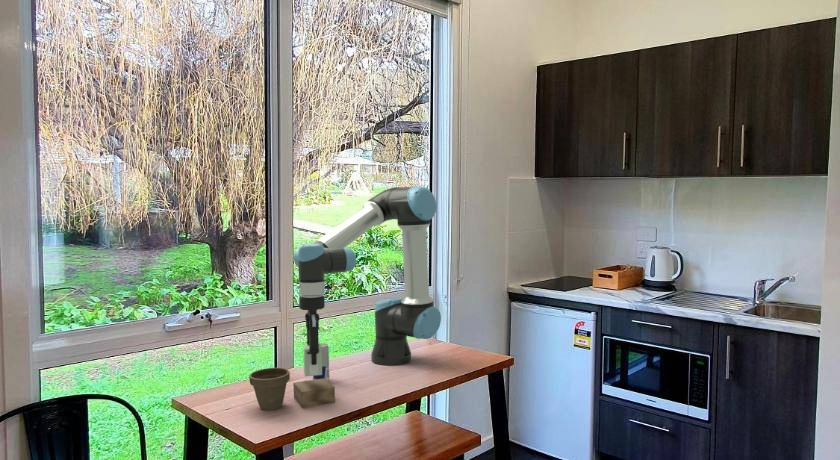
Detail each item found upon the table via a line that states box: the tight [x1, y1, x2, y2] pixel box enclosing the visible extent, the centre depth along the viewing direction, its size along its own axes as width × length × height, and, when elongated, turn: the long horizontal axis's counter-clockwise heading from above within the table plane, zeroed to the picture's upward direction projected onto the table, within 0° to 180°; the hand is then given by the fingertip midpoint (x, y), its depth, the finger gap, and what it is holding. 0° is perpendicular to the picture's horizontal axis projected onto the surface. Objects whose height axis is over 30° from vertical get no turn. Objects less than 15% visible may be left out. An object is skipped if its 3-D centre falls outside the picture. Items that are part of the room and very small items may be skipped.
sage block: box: [303, 344, 322, 377], centre depth 179 cm, size 5×5×8 cm
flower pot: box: [248, 367, 291, 411], centre depth 174 cm, size 12×11×10 cm
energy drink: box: [312, 343, 330, 381], centre depth 199 cm, size 5×5×12 cm
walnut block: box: [293, 378, 336, 409], centre depth 180 cm, size 10×10×5 cm
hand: (313, 372), depth 179 cm, fingers closed on sage block, 5 cm apart
